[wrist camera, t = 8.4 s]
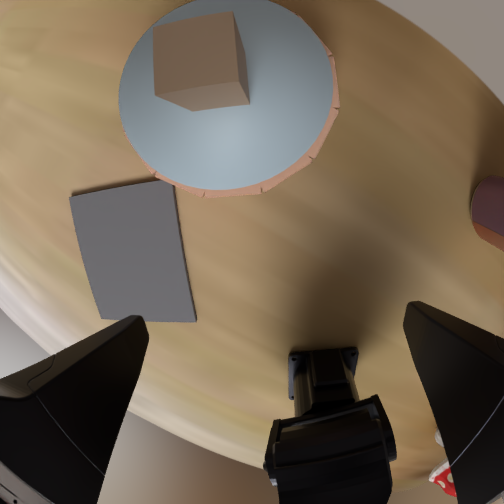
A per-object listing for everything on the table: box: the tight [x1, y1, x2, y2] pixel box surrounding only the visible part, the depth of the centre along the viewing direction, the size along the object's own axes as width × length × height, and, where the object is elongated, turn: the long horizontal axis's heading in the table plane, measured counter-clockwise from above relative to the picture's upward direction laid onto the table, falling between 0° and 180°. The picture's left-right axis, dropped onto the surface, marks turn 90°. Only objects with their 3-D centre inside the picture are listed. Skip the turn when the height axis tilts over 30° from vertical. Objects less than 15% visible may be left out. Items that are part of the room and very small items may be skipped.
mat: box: [69, 180, 197, 322], centre depth 22 cm, size 12×10×1 cm
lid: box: [119, 0, 333, 190], centre depth 10 cm, size 11×11×6 cm
